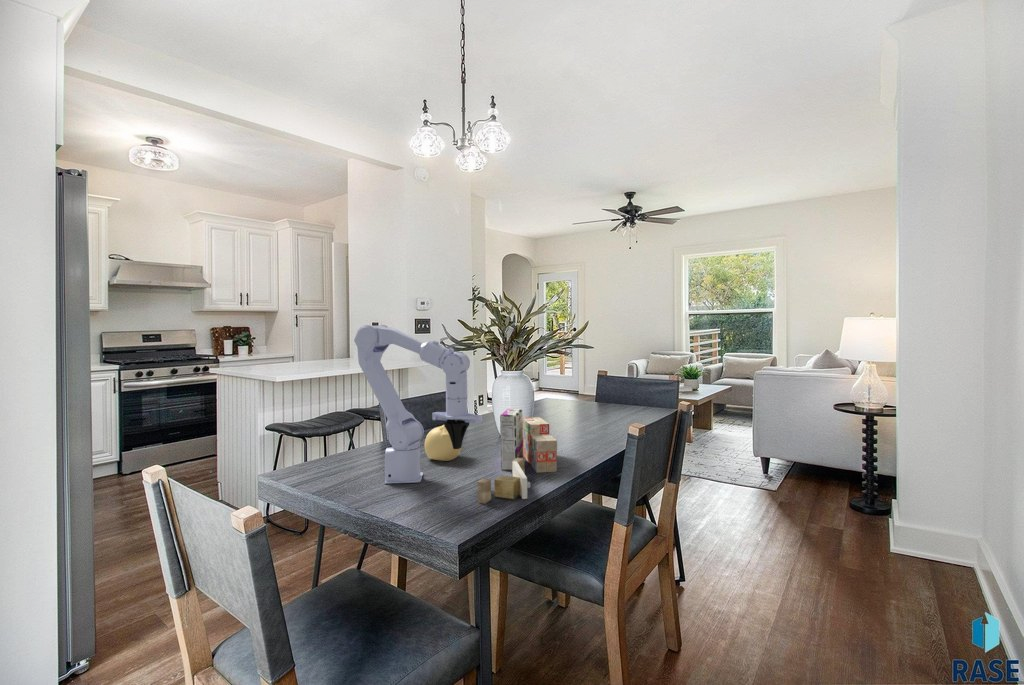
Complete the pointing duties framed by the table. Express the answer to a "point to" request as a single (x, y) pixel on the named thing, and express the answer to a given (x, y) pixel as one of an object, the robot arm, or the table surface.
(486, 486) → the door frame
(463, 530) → the table surface
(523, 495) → the door
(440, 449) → the yellow round lump
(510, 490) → the tan wooden block
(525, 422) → the stack of blocks
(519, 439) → the candy bar box
